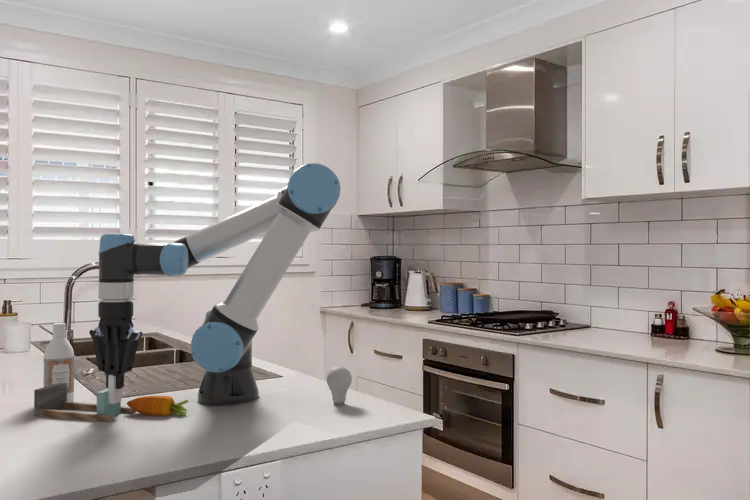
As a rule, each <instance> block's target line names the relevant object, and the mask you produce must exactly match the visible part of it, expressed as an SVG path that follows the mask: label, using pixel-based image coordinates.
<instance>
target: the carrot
mask: <svg viewBox="0 0 750 500" xmlns="http://www.w3.org/2000/svg"><path fill="white" fill-rule="evenodd" d="M187 403H189V400H188V399H185V400H183V401H181V402H177V403H176V402H175V400H174V399H173V397H172V396H168V395H146V396H145V395H144V396H140V397H136V398H134V399H131V400H128V401H127V402H126V406H127V407H130V408H131V409H133V410H135V411H136V412H135V413H138V414H142V415H146V416H155V417H156V416H157V417H158V416H159V417H168V416H171V415H172V414H174V416H178V415H180V416H181V417H184V416H186V415H187V414H186V412H187V411H188V410H187V408H186V407H184V406H183V405H184V404H187Z"/></svg>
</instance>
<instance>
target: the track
mask: <svg viewBox="0 0 750 500" xmlns="http://www.w3.org/2000/svg"><path fill="white" fill-rule="evenodd" d="M33 393H34V397H33V398H34V399H33V400H34V402H33V403H34V404H33V407H34V408H33V409H34V410H33V412H34V413H33V415H34V417H44V418H45V417H46V418H47V417H48V418H52V419H53V418H55V419H56V418H57V419H65V420H75V419H78V420H79V421H87V422H88V421H89V422H91V421H92V422H103V423H104V422H105V423H113V422H115V415H114V416H113V415H103V414H97V413H90V412H81V411H71V410H79V409H82V411H94V410H97V403H89V402H80V401H72V402H69V401H67V383H59V384H55V385H51V386H47V387H40V388H37V389H34V390H33ZM63 409H67V410H63ZM121 413H124V414H125V413H126V414H134V413H137V412H136V411H135V410H133V409H131V408H130V407H129V406H123V405H122V406H121Z"/></svg>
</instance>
